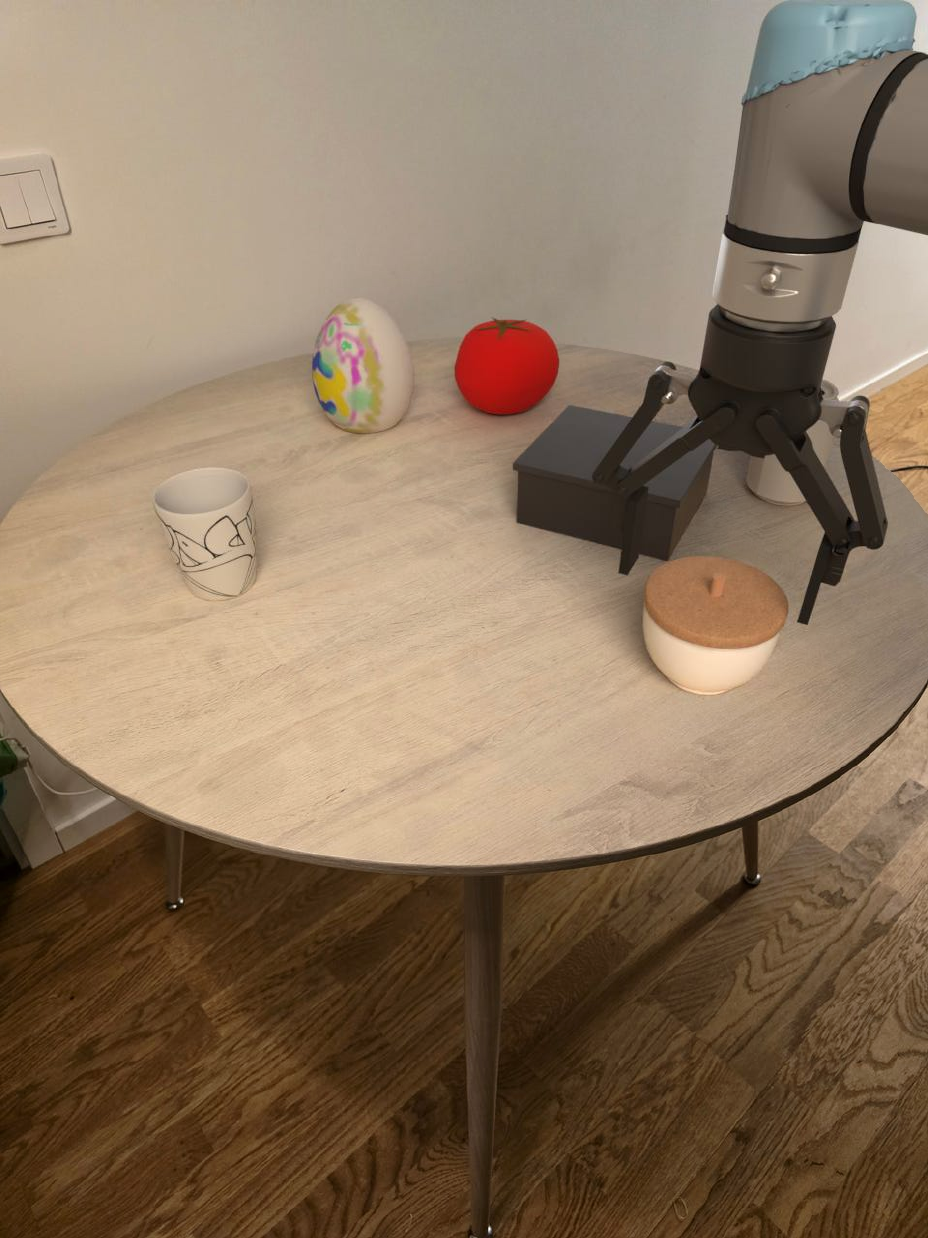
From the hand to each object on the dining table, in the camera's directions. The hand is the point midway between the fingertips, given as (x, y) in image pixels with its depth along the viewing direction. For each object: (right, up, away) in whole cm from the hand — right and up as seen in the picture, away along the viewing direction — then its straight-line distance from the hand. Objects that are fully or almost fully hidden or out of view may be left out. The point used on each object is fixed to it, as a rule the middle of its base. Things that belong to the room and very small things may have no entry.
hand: (713, 589), depth 66 cm
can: (+15, +11, +27) cm, 33 cm away
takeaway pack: (-3, +9, +25) cm, 27 cm away
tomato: (-14, +25, +45) cm, 54 cm away
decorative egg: (-31, +23, +43) cm, 58 cm away
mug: (-43, +2, +17) cm, 46 cm away
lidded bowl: (0, -7, +5) cm, 8 cm away
